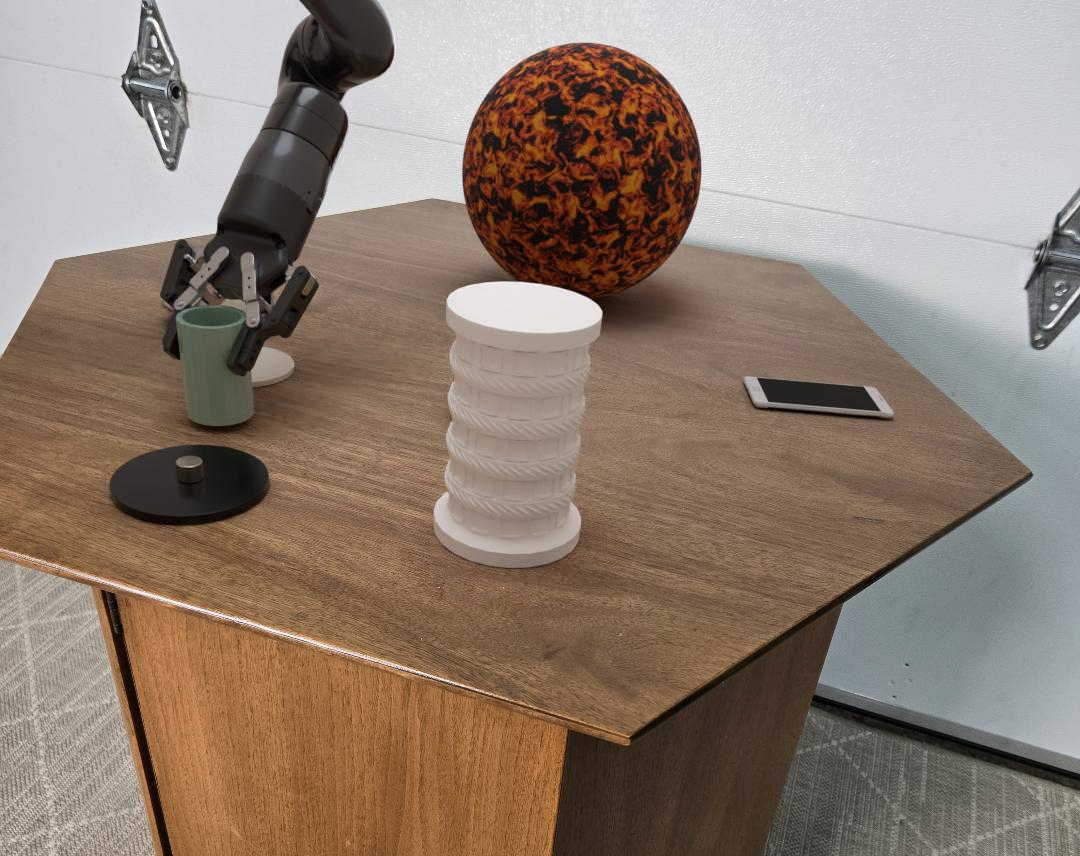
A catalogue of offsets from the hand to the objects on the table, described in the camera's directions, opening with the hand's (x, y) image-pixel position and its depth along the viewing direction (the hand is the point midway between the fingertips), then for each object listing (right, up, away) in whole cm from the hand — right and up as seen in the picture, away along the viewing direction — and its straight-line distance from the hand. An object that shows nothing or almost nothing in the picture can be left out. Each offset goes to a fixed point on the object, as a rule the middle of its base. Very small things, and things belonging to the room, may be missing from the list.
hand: (203, 363), depth 85 cm
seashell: (-7, +9, +25) cm, 27 cm away
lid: (+1, -11, -6) cm, 13 cm away
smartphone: (+59, 0, +21) cm, 62 cm away
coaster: (-1, +2, +15) cm, 15 cm away
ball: (+33, +17, +46) cm, 59 cm away
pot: (0, -4, +4) cm, 6 cm away
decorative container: (+26, -14, -7) cm, 31 cm away
